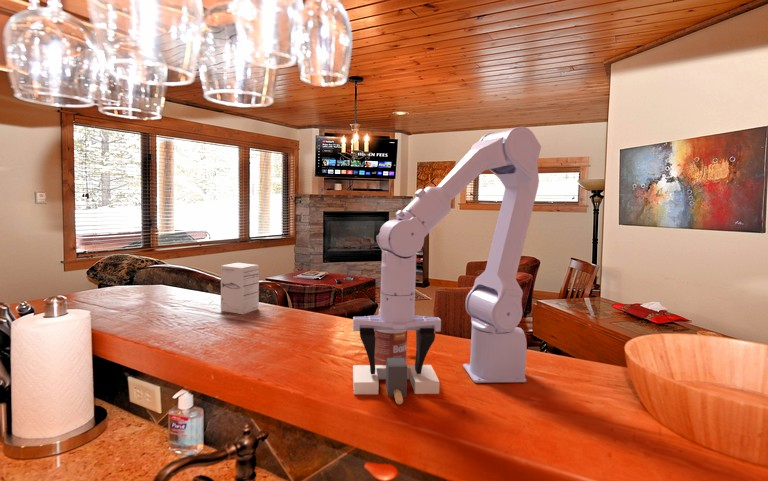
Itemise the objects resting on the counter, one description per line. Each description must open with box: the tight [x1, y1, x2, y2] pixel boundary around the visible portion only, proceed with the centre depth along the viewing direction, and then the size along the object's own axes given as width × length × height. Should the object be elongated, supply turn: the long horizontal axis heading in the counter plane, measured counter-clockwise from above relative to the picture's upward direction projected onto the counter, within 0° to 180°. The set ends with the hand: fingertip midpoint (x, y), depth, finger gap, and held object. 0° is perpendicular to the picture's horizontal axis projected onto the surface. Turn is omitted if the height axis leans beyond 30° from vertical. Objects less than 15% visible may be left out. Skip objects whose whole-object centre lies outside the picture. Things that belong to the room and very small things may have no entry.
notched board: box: [352, 364, 441, 395], centre depth 77 cm, size 14×8×2 cm, turn 95°
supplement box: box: [220, 262, 260, 315], centre depth 123 cm, size 7×7×13 cm
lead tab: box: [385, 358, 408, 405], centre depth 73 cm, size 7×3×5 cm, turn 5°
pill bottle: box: [374, 308, 408, 365], centre depth 85 cm, size 6×6×11 cm
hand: (395, 372), depth 76 cm, fingers open, 7 cm apart
